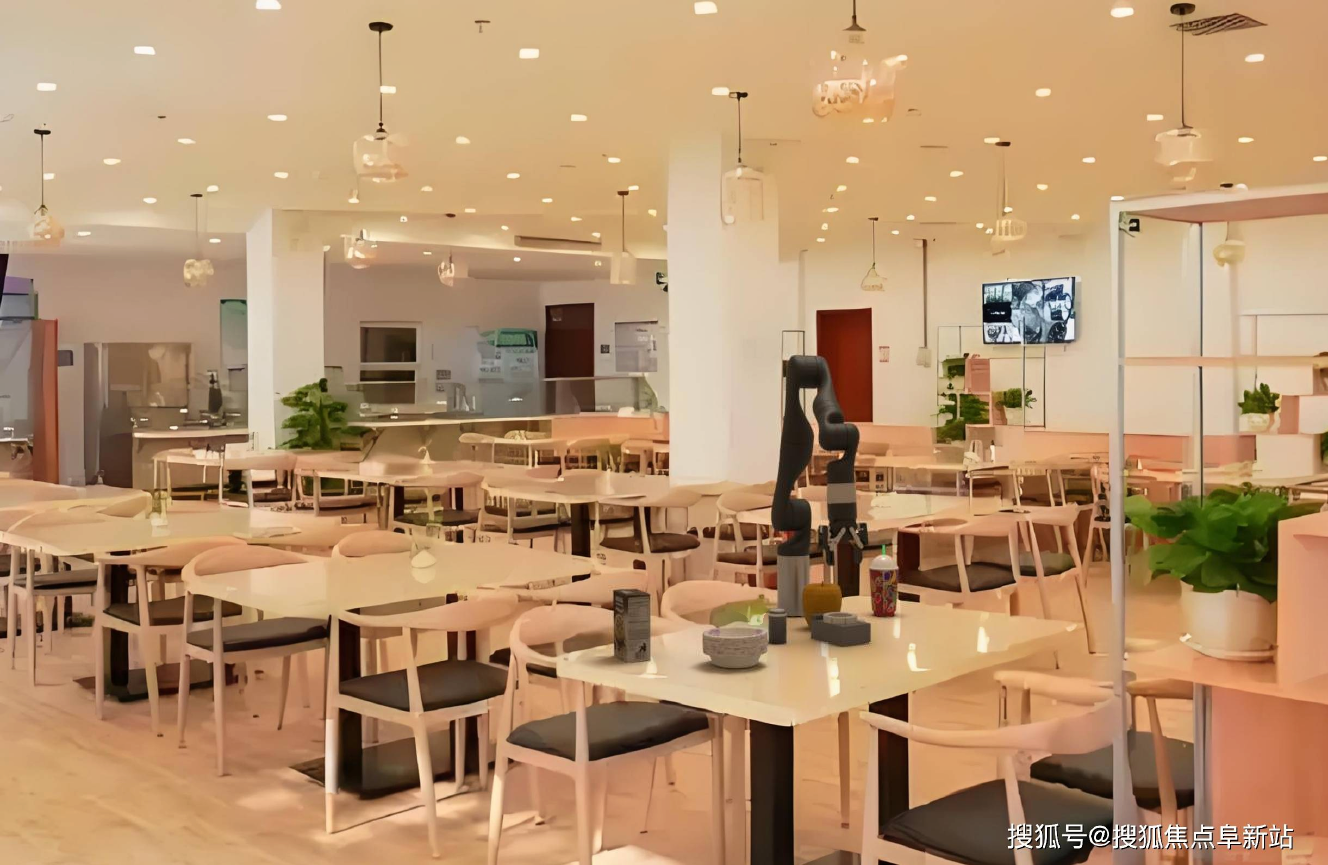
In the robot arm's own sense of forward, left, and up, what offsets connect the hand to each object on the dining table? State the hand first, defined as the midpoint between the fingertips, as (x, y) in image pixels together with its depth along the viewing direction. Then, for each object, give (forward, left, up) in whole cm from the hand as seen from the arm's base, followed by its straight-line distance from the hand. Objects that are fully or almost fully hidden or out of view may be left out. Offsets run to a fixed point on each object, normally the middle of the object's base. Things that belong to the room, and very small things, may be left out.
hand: (844, 564), depth 324 cm
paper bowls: (+19, -36, -20) cm, 46 cm away
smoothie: (-31, +26, -20) cm, 44 cm away
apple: (-17, +1, -20) cm, 26 cm away
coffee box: (+4, -57, -20) cm, 61 cm away
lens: (-3, -17, -19) cm, 26 cm away
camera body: (0, -1, -19) cm, 19 cm away
